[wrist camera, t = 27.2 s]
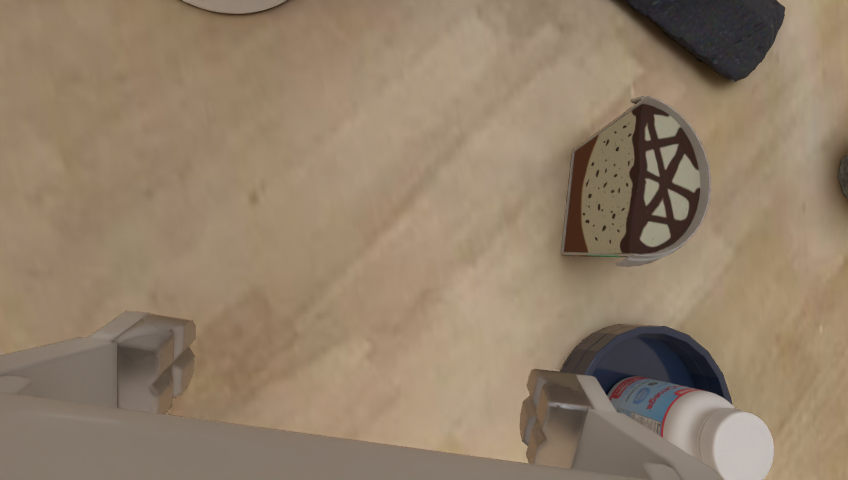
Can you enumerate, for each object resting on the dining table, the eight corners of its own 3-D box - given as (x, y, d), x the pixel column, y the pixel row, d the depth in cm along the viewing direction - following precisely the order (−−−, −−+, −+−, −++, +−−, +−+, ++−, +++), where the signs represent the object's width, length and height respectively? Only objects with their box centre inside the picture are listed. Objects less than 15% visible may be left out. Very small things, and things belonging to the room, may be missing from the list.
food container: (622, 284, 45) (712, 278, 35) (558, 272, 44) (634, 263, 34) (634, 149, 47) (723, 109, 37) (573, 134, 45) (649, 88, 36)
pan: (530, 355, 42) (551, 359, 39) (670, 303, 46) (700, 303, 42) (582, 526, 41) (609, 547, 38) (719, 460, 45) (755, 473, 42)
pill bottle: (655, 368, 44) (773, 390, 33) (669, 441, 44) (793, 486, 33) (593, 383, 43) (695, 410, 32) (607, 458, 42) (716, 512, 31)
